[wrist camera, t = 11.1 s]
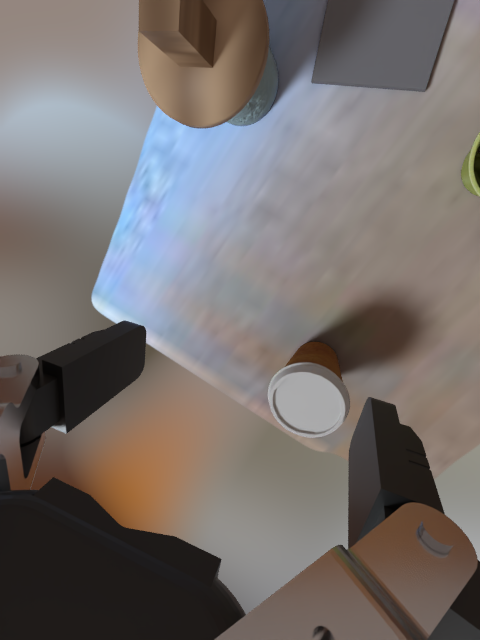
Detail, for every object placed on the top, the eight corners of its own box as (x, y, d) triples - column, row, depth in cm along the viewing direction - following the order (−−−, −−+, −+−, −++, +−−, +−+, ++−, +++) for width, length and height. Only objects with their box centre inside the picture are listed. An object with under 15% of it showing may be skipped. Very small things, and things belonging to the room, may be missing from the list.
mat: (474, -64, 28) (476, -70, 28) (424, 91, 33) (425, 89, 32) (341, -60, 31) (341, -65, 31) (312, 83, 36) (311, 81, 35)
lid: (281, -44, 24) (256, -139, 17) (257, 133, 28) (229, 110, 22) (147, -36, 27) (83, -115, 20) (144, 123, 31) (90, 99, 25)
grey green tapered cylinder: (259, 146, 40) (226, 121, 29) (194, 112, 41) (138, 76, 30) (299, 54, 35) (278, -16, 24) (224, 19, 37) (172, -62, 26)
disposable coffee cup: (336, 322, 43) (332, 358, 33) (358, 381, 45) (361, 434, 34) (274, 341, 47) (253, 378, 36) (297, 395, 49) (282, 446, 38)
